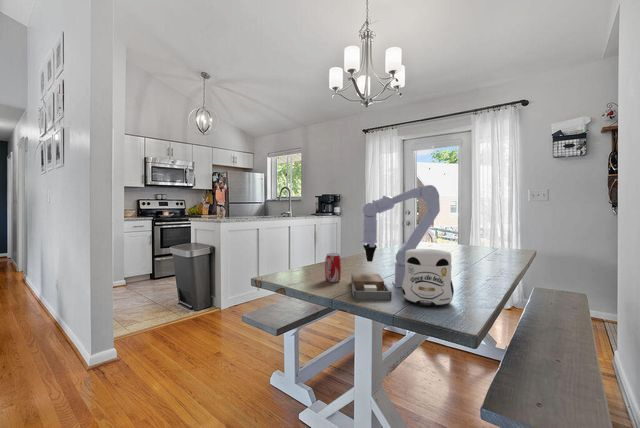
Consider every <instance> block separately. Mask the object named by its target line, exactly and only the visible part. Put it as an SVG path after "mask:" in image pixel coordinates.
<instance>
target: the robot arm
mask: <svg viewBox="0 0 640 428" xmlns="http://www.w3.org/2000/svg"><path fill="white" fill-rule="evenodd" d="M421 198H422V199H423V201H424V203H425V206H426V211H425V213H424V215H423V216H422V218H421V219H420V221H419V223H418V224H417V225H416V227H415V228H414V230H413V231H412V232H411V235H410V236H409V238H408V239H407V241H406V242H405V243H404V245H403V246H402V247H400V248H399V249H398V250H397V252H396V254H395V261H396V262H395V263H394V281H392V284H393V285H394V286H395V288H402V284H403V280H404V277H405V254H406V251H407V250H411V249H417V248H418V246H419V244H420V242H421V241H422V239H423V238H424V236H425V235H426V233H427V232H428V230H429V228H430V227H431V225H432V224H433V223H434V221H435V220H436V218H437V216H438V215H439V214H440V212H441V205H440V203H441V202H440V193H439V191H438V189H437V187H435V186H434V185H432V184H426V185H424V186H420V187H419V186H418V187H414V188H411V189H409V190H407V191H405V192H402V193H400V194H398V195H395V196H393V197H392V196H389V195H383V196H382V198H379V199H376V200H371V202H367V203H366V204H364V206H363V208H362V213H363V233H362V234H363V235H362V236H363V239H361V240H360V243H364V244H363V245H362V246H363V249H364V252H365V257H366V261H367V262H368V263H370V262H373V261H374V257H375V252H376V250H377V248H378V245H377V243H378V240H377V235H378V234H377V233H378V231H377V227H378V225H377V224H378V223H377V222H378V220H377V214H381V213H385V212H387V211H388V210H392V209H394V207H395V206H396V204H399V203H402V202H405V201H407V200H410V199H421Z"/></svg>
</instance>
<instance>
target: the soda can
mask: <svg viewBox="0 0 640 428" xmlns="http://www.w3.org/2000/svg"><path fill="white" fill-rule="evenodd" d="M324 262H325V263H324V264H325V265H324V267H325V269H324V278H325V280H326V281H327V282H328V283H338V282H340V281H341V278H342V258H341V255H340V253H337V252H336V253H333V252H332V253H331V252H330V253H326V257H325V261H324Z"/></svg>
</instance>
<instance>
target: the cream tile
mask: <svg viewBox="0 0 640 428" xmlns="http://www.w3.org/2000/svg"><path fill="white" fill-rule="evenodd" d="M364 291H377V287H376V285H364Z"/></svg>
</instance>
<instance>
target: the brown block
mask: <svg viewBox="0 0 640 428" xmlns="http://www.w3.org/2000/svg"><path fill="white" fill-rule="evenodd" d="M350 278H351V281H350V283H351V285H352V284H354V286H355V289H356V291H363V288H364V285H376V287H377V291H384V284H385V280H384V279H383V278H382V277H381V274H379V273H351V277H350Z"/></svg>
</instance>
